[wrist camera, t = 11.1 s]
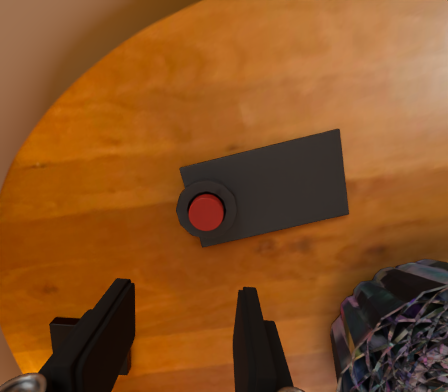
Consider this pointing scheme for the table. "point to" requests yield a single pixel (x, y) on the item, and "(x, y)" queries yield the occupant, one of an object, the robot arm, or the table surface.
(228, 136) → the table surface
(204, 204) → the button
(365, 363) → the decorative bowl
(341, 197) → the control box
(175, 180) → the table surface
